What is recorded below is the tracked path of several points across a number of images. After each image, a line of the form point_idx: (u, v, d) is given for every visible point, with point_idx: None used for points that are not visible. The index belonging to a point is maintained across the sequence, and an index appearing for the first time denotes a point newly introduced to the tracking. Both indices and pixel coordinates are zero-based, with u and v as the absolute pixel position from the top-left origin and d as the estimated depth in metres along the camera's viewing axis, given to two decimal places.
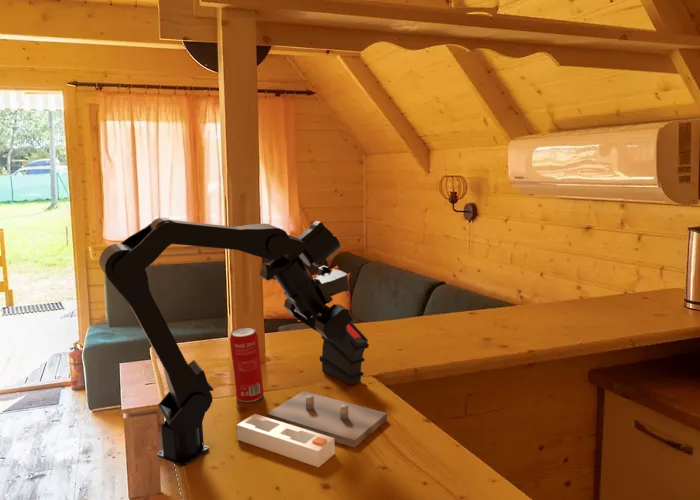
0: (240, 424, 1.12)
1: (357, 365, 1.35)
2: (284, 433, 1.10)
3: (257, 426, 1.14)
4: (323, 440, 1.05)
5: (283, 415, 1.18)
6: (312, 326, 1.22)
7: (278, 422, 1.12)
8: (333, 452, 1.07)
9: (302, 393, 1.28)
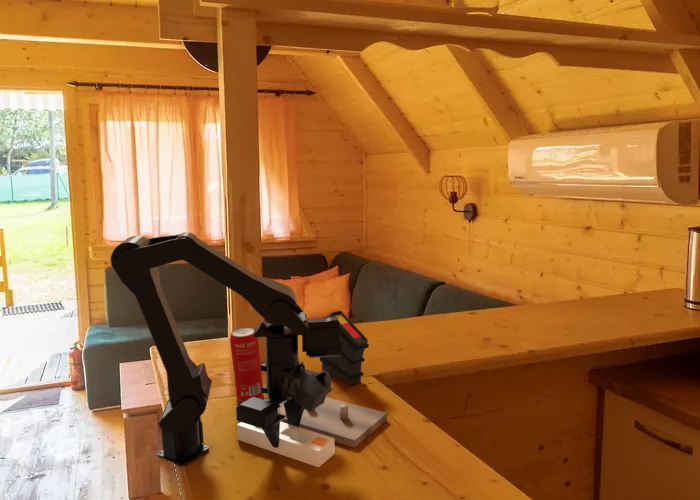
0: (240, 424, 1.12)
1: (357, 365, 1.35)
2: (284, 433, 1.10)
3: None
4: (323, 440, 1.05)
5: None
6: (286, 413, 1.12)
7: None
8: (333, 452, 1.07)
9: None
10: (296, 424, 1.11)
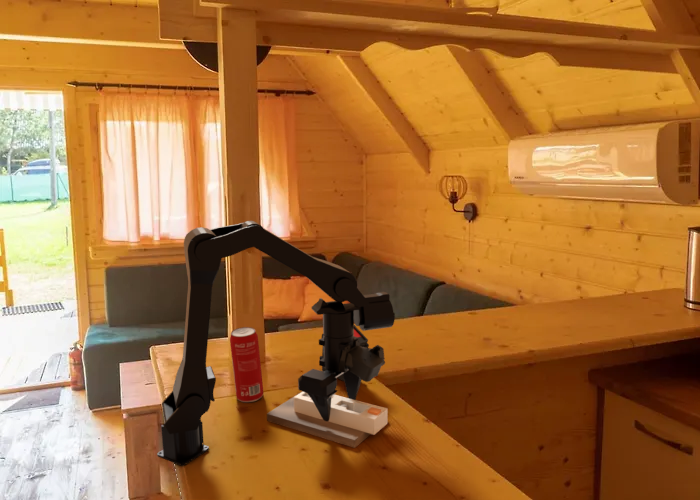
0: (297, 396, 1.19)
1: None
2: (339, 404, 1.17)
3: None
4: (378, 410, 1.13)
5: (283, 415, 1.18)
6: (345, 382, 1.21)
7: None
8: (386, 421, 1.14)
9: None
10: (355, 392, 1.20)
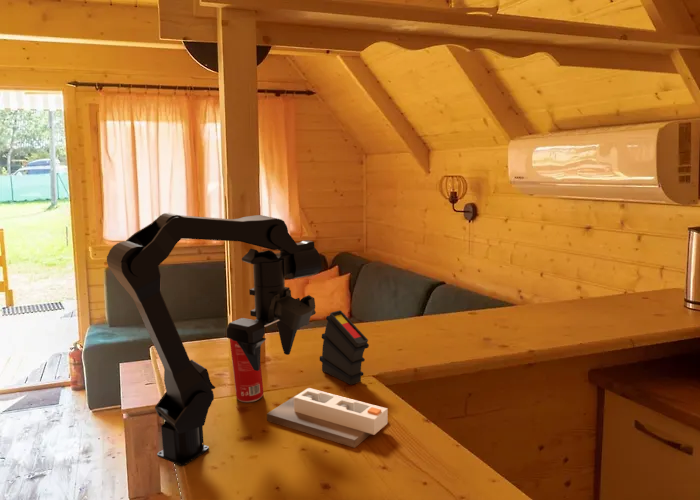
0: (297, 396, 1.19)
1: (357, 365, 1.35)
2: (339, 404, 1.17)
3: None
4: (378, 410, 1.13)
5: (283, 415, 1.18)
6: (280, 335, 1.21)
7: (332, 395, 1.20)
8: (386, 421, 1.14)
9: None
10: (289, 345, 1.20)
